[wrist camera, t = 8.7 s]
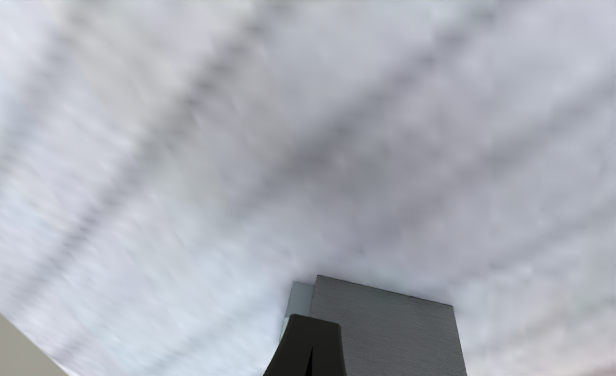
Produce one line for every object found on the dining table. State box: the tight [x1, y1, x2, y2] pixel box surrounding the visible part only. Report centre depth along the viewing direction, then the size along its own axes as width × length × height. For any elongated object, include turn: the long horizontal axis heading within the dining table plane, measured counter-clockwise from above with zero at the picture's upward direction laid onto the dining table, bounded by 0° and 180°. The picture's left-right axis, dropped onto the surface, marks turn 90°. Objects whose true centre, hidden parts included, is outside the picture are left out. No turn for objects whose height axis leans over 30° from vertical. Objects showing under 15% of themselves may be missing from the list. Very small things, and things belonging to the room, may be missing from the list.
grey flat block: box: [309, 275, 467, 376], centre depth 20 cm, size 8×1×7 cm, turn 80°
